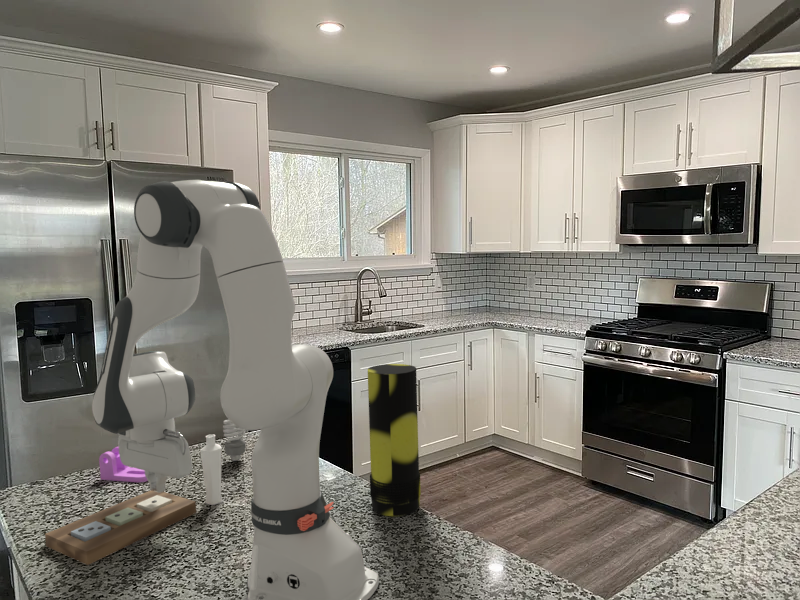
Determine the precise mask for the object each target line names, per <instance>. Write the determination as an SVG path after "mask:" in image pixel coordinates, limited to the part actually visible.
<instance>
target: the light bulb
mask: <svg viewBox="0 0 800 600" xmlns="http://www.w3.org/2000/svg"><path fill="white" fill-rule="evenodd" d="M222 424H224V425H222V428H223V429H222V432H223V433H224V434H223V436H224V437H227V438H228V439H227V441H225V442H224V453H225V454H226V455H227V456H229V457H230V459H231V461H233V462H238V461H239V460H240V459H241V455H242V454H244V453H245V452H246V441H245V439H243V437H244V436H245V434H246V430H244V429H241V428H239V427H237V426H236V425H234V424H233V423H232V422H231V421H230V420H229V419H225V420H223V423H222Z"/></svg>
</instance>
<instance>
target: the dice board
mask: <svg viewBox="0 0 800 600" xmlns="http://www.w3.org/2000/svg"><path fill="white" fill-rule="evenodd" d="M156 495H158V496H162V497H165V498H168V499H171V500H172V503H171V504H168V505H166V506H164V507H162V508H159V509H157V510H155V511H153V512H149V511H146V510H143V509H140V508H137V503H140V502H142V501H144V500H147V499H149V498H151V497H154V496H156ZM125 508H131V509H134V510H137V511H140V512H143V516H141V517H139V518H137V519H135V520H132V521H130V522H128V523H126V524H123V525H121V526H118V525H115V524H112V523H110V522H107V521H106V520H105V517H106V516H109V515H111V514H113V513H116V512H118V511H121V510H123V509H125ZM196 513H197V503H196V501H195V500H191V499H189V498H186V497H182V496H178V495H175V494H173V493H169V492H166V491H163V492H161V493H159V492H155V491H152V490H148V491H146V492H143V493H141V494H139V495H136V496H134V497H131V498H129V499H127V500H124V501H122V502H119V503H117V504H114V505H112V506H109V507H107V508H105V509H101V510H100V511H96V512H95V513H93V514H90V515H88V516H85V517H82V518H80V519H77V520H75V521H72V522H71V523H67V524H66V525H64V526H61V527H58V528H57V529H54V530H51V531H49V532H46V533H44V536H45V537H44V538H45V547H47V548H49V549H51V550H53V551H54V552H55V551H56V552H57V553H60V554H63V555H64V556H67V557H68V558H71V559H72V560H76V561H78V562H80V563H82V564H85V565H87V566H89V565H91V564H94V563H95V562H97V561H99V560H102V559H103V558H105V557H108V556H110V555H112V554H114V553H116V552H118V551H120V550H122V549H124V548H126V547H129V546H131V545H132V544H135V543H136V542H139V541H141V540H143V539H146V538H148V537H149V536H151V535H153V534H155V533H157V532H159V531H162V530H163V529H166V528H168V527H170V526H171V525H174V524H176V523H178V522H180V521H183V520H184V519H187V518H188V517H191V516H192V515H195V514H196ZM95 521H97V522H100V523H102V524H105V525H108V526H110V527H111V530H110V531H108V532H105V533H103V534H101V535H99V536H97V537H94V538H92V539H90V540H88V541H85V542H84V541H82V540H80V539H77V538H75V537H72V536H71V531H73V530H76V529H78V528H80V527H83V526H85V525H87V524H90V523H92V522H95Z"/></svg>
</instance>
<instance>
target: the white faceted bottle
mask: <svg viewBox="0 0 800 600" xmlns="http://www.w3.org/2000/svg"><path fill="white" fill-rule="evenodd" d="M205 438H206V439H205V440H206V442H205V443H206V445H204V446H203V447H202V448H200V449H199V451H200V452H199V453H200V458H201V466H202V473H203V475H202V476H203V480H204V487H205V495H206V497H205V501H204V504H207V505H211V506H214V505H217V504H221V503H223V502H224V501H223V497H222V446H221V444H218V443H216V434H207V435H205Z"/></svg>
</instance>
